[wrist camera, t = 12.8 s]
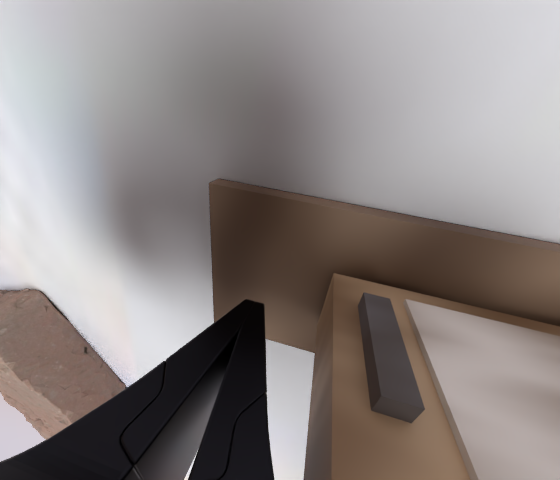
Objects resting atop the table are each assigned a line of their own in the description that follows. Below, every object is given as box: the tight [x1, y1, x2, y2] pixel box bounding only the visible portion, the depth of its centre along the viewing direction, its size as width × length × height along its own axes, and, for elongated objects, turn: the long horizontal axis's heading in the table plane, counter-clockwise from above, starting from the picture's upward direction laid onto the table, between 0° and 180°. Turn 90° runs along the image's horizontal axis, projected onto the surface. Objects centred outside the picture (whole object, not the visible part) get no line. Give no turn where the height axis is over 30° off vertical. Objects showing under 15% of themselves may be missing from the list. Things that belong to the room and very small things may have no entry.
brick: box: [0, 289, 126, 440], centre depth 19 cm, size 16×8×5 cm, turn 14°
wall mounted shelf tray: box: [304, 273, 560, 480], centre depth 6 cm, size 12×4×6 cm, turn 83°
